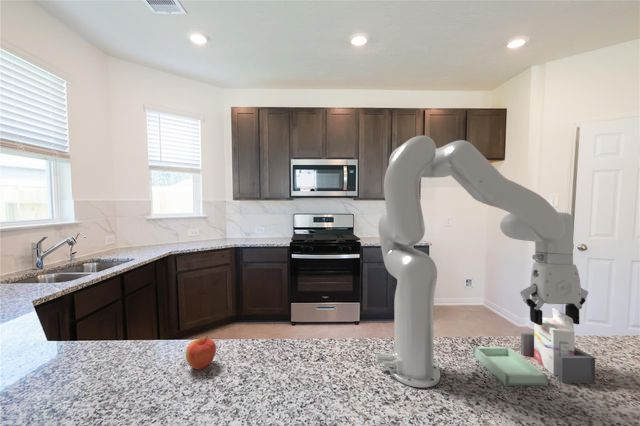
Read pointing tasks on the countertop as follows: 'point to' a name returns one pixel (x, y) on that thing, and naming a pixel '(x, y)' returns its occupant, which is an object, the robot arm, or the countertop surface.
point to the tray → (510, 366)
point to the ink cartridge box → (553, 340)
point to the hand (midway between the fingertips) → (554, 322)
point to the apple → (200, 353)
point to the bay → (566, 363)
